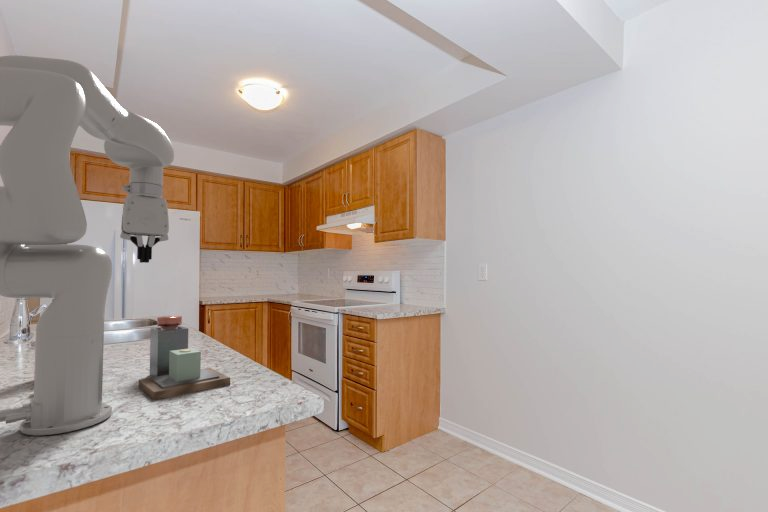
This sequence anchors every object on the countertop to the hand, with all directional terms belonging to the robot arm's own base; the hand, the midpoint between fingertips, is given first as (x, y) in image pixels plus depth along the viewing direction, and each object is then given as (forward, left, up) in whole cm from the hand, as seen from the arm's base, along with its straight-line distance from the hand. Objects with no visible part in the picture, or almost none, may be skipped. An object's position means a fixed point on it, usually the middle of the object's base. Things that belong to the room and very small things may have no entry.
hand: (144, 262), depth 100 cm
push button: (+5, -4, -23) cm, 24 cm away
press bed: (+5, -17, -29) cm, 34 cm away
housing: (+5, -17, -27) cm, 32 cm away
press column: (+5, -4, -29) cm, 30 cm away
